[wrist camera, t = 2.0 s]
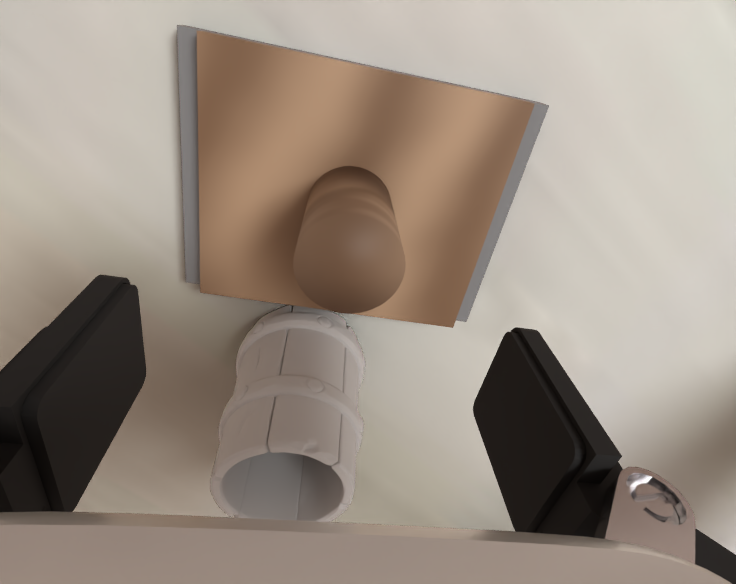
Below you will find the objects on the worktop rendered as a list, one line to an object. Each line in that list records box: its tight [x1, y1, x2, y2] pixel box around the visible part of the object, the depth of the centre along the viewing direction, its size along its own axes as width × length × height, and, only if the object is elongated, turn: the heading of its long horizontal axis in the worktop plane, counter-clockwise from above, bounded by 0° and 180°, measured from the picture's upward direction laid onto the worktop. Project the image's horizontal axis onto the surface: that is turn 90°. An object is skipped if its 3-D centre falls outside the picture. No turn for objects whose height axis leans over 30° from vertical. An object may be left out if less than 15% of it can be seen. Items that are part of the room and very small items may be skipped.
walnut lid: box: [197, 31, 535, 328], centre depth 18 cm, size 14×12×7 cm
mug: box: [210, 305, 366, 522], centre depth 23 cm, size 8×12×12 cm, turn 160°
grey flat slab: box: [177, 25, 549, 322], centre depth 21 cm, size 16×12×1 cm
